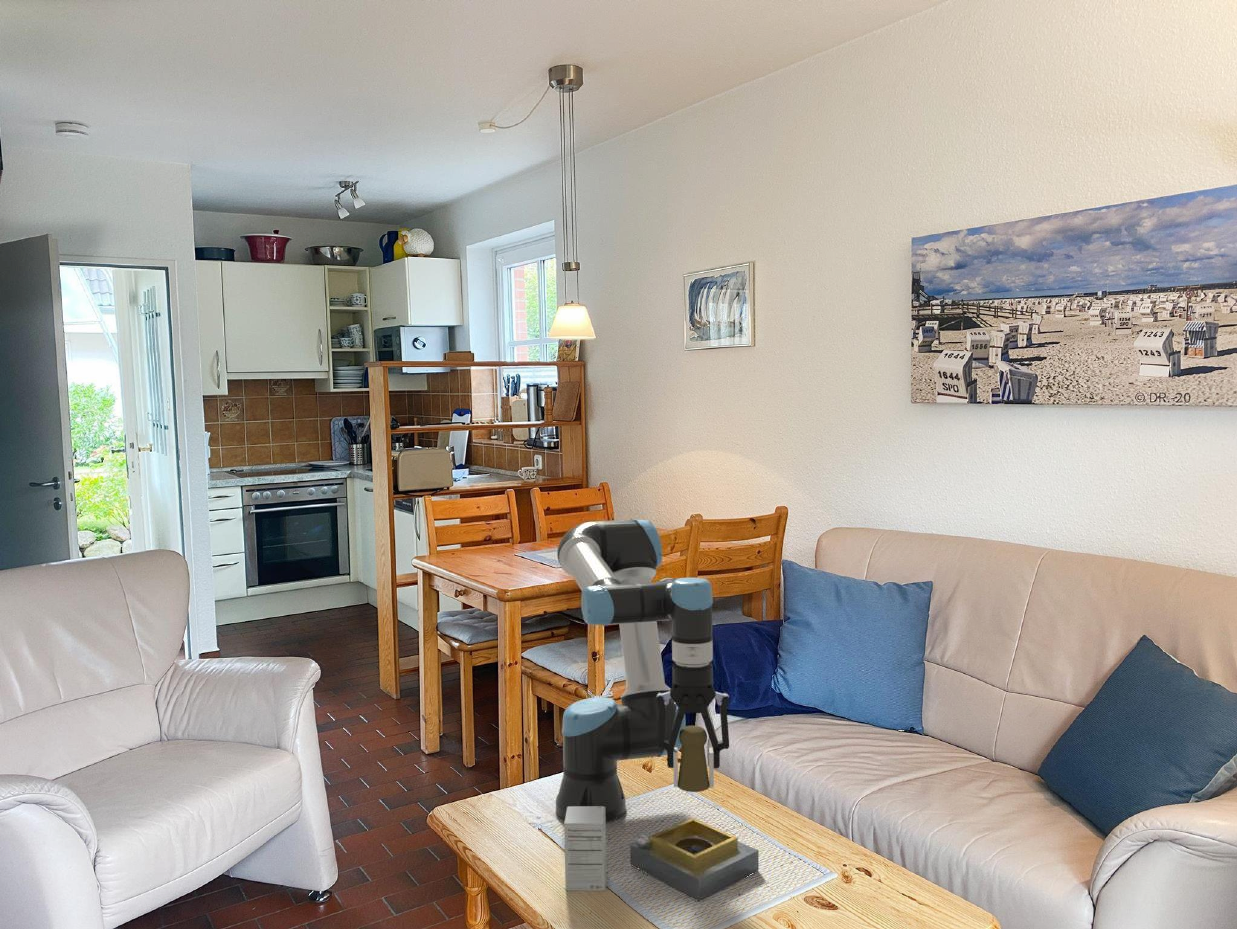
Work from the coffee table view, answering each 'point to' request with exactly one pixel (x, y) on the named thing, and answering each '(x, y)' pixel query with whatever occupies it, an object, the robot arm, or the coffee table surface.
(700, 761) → the olive brown pawn
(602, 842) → the supplement box
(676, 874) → the grey base with frame
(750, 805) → the coffee table surface
